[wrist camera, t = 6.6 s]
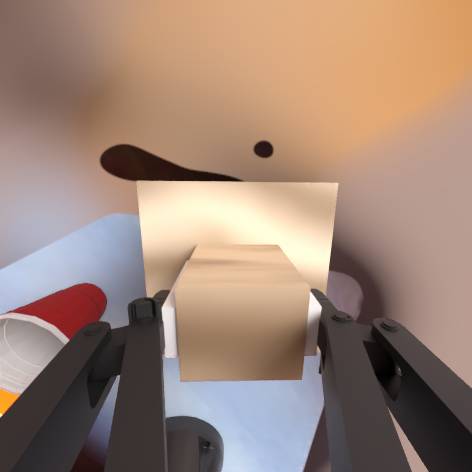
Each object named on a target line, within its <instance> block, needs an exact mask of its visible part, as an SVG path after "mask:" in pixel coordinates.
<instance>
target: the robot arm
mask: <svg viewBox="0 0 472 472" xmlns="http://www.w3.org/2000/svg"><path fill="white" fill-rule="evenodd" d="M188 261H189V260H187V261H186V263H185V265H184V266H183V268H182V270H181V272H180V274H179V276H178V278H177V280H176V282H175V284H174V285H173V287H172V289H171V290H160V291H159V292H157V293H156V294H155V295H154V296H153V298H151V297H144V298H139V299H136V300H134V301H132V302H131V303H130V304H129V305H128V315H129V325H128V326H125V327H121V328H116V329H111V326H110V324H109V323H108V322H103V321H99V322H93V323H90V324H88V325H86V326H84V327H82V328H81V329H80V330H78V331H77V332H76V333H75V335H74V336H73V337H72V338H71V339H70V340H69V341H68V342H67V343H66V345H65V346H64V347H63V348H62V349H61V350H60V351H59V352H58V353H57V355H56V356H55V357H54V358H53V359H52V360H51V361H50V362H49V363H48V365H47V366H46V367H45V368H44V369H43V370H42V371H41V372H40V374H39V375H38V376H37V377H36V378H35V379H34V380H33V381H32V382H31V384H30V385H29V386H28V387H27V388H26V389H25V390H24V391H23V392H22V394H21V395H20V396H19V397H18V398H17V399H16V400H15V401H14V402H13V404H12V405H11V406H10V407H9V408H8V409H7V410H6V411H5V412H4V414H3V415H2V416H1V417H0V472H70V471H71V469H72V467H73V465H74V463H75V461H76V459H77V457H78V455H79V453H80V451H81V449H82V447H83V445H84V442H85V440H86V438H87V436H88V434H89V432H90V430H91V428H92V426H93V424H94V422H95V420H96V418H97V416H98V414H99V412H100V410H101V408H102V406H103V404H104V402H105V400H106V398H107V396H108V394H109V392H110V389H111V387H112V385H113V383H114V381H115V379H116V376H117V375H120V380H119V386H118V392H117V398H116V404H115V410H114V416H113V421H112V427H111V433H110V439H109V445H108V451H107V457H106V463H105V468H104V472H221V470H222V467H223V455H224V445H223V441H222V438H221V436H220V434H219V433H218V431H217V430H216V429H215V428H214V427H212V426H211V425H210V424H208V423H206V422H205V421H202V420H200V419H197V418H192V417H172V418H168V419H165V399H164V379H163V360H162V354H163V352H164V349H165V358H179V348H178V330H177V312H176V295H175V287H176V285H177V283H178V281H179V279H180V277H181V275H182V273H183V271H184V269H185V267H186V265H187V263H188ZM317 345H318V347H319V349H320V351H321V358H320V367H319V374H321V373H322V383H323V393H324V403H325V413H326V423H327V433H328V443H329V453H330V462H331V472H412V471H411V469H410V466H409V463H408V461H407V458H406V455H405V453H404V450H403V447H402V445H401V442H400V439H399V437H398V434H397V431H396V429H395V426H394V423H393V421H392V418H391V415H390V413H389V410H390V411H391V413H392V414H393V416H394V418H395V419H396V421H397V422H398V424H399V425H400V427H401V429H402V430H403V432H404V433H405V435H406V436H407V438H408V440H409V441H410V443H411V444H412V446H413V447H414V449H415V451H416V452H417V454H418V455H419V457H420V458H421V460H422V462H423V463H424V465H425V466H426V468H427V469H428V471H429V472H472V388H470V387H469V386H468V385H467V384H466V383H465V382H464V381H463V380H462V379H461V378H459V377H458V376H457V375H456V374H455V373H454V372H453V371H452V370H451V369H450V368H449V367H447V366H446V365H445V364H444V363H443V362H442V361H441V360H440V359H439V358H438V357H436V356H435V355H434V354H433V353H432V352H431V351H430V350H429V349H428V348H427V347H426V346H425V345H423V344H422V343H421V342H420V341H419V340H418V339H417V338H416V337H415V336H414V335H412V334H411V333H410V332H409V331H408V330H407V329H406V328H405V327H404V326H402V325H401V324H399V323H397V322H395V321H394V320H391V319H387V318H376V319H374V320H373V324H372V326H368V325H363V324H358V323H355V320H354V319H353V317H352V316H350V315H349V314H347V313H344V312H341V311H338V310H337V309H336V308H335V307H334V306H333V304H332V303H331V302H330V301H329V300H328V298H326V296H325V295H324V294H323V292H321V291H319V290H318V289H311V290H310V300H309V311H308V321H307V332H306V342H305V353H304V356H316V354H317ZM399 368H400V370H401V372H400V370H399ZM387 407H388V408H389V410H388V408H387Z"/></svg>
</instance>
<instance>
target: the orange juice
mask: <svg viewBox="0 0 472 472" xmlns="http://www.w3.org/2000/svg"><path fill="white" fill-rule="evenodd" d="M19 396H20V395H16V394H12V393H9V392H7V391H4V390H2V389H0V417H1V416H2V415H3V414H4V412H5V411H6V410H7V409H8V408H9V407H10V406H11V405H12V404H13V402H14V401H15V400H16V399H17V398H18V397H19Z"/></svg>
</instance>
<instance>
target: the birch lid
mask: <svg viewBox="0 0 472 472" xmlns="http://www.w3.org/2000/svg"><path fill="white" fill-rule="evenodd" d="M337 189H338V183H293V182H292V183H290V182H282V183H281V182H199V181H137V192H138V204H139V215H140V226H141V237H142V248H143V260H144V271H145V282H146V293H147V297H151V298H153V296H154V295H155V294H156V293H157V292H159V291H160V290H171V289H172V287H173V285H174V284H175V282H176V280H177V278H178V276H179V274H180V272H181V270H182V268H183V266H184V265H185V263H186V261H187V260H189V261H188V263H187V265H186V267H185V269H184V271H183V273H182V275H181V277H180V279H179V281H178V283H177V285H176V287H175V295H176V312H177V330H178V348H179V365H180V382H184V381H252V380H302V374H303V363H304V353H305V342H306V332H307V321H308V311H309V300H310V290H311V289H318V290H319V291H321V292H323V294H324V295H325V296H326V288H327V279H328V270H329V260H330V252H331V243H332V234H333V225H334V217H335V208H336V199H337ZM319 350H320V349H319V347H318V345H317V353H319ZM162 355H165V349H164V352H163V354H162Z"/></svg>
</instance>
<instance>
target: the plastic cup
mask: <svg viewBox="0 0 472 472" xmlns="http://www.w3.org/2000/svg"><path fill="white" fill-rule="evenodd" d="M106 305H107V299H106V296H105V294H104V292H103V291H102V290H101V289H100V288H98V287H97V286H95V285H93V284H88V283H83V284H78V285H74V286H72V287H69V288H67V289H65V290H61V291H58V292H56V293H53V294H51V295H49V296H47V297H44V298H42V299H40V300H37V301H35V302H33V303H30V304H28V305H26V306H22V307H19V308H17V309H15V310H13V311H9V312H7V313H5V314H0V389H2V390H4V391H7V392H9V393H12V394H16V395H21V394H22V392H23V391H24V390H25V389H26V388H27V387H28V386H29V385H30V384H31V382H32V381H33V380H34V379H35V378H36V377H37V376H38V375H39V374H40V372H41V371H42V370H43V369H44V368H45V367H46V366H47V365H48V363H49V362H50V361H51V360H52V359H53V358H54V357H55V356H56V355H57V353H58V352H59V351H60V350H61V349H62V348H63V347H64V346H65V345H66V343H67V342H68V341H69V340H70V339H71V338H72V337H73V336H74V335H75V333H76V332H77V331H78V330H80V329H81V328H82V327H84V326H86V325H88V324H90V323H93V322H99V319H100V317H101V316H102V314H103V313H104V311H105V308H106Z"/></svg>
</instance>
